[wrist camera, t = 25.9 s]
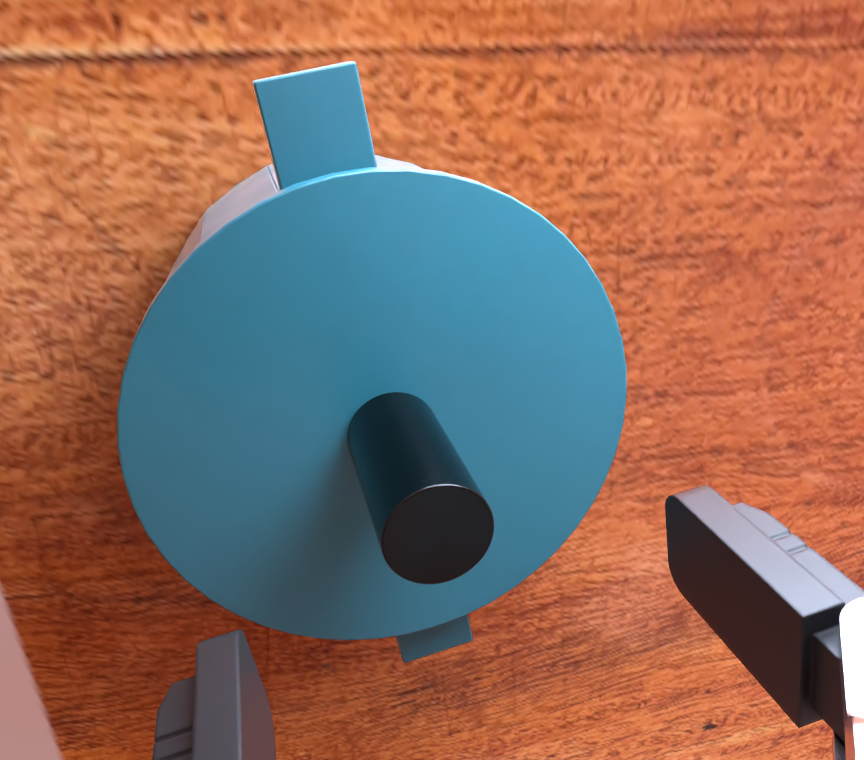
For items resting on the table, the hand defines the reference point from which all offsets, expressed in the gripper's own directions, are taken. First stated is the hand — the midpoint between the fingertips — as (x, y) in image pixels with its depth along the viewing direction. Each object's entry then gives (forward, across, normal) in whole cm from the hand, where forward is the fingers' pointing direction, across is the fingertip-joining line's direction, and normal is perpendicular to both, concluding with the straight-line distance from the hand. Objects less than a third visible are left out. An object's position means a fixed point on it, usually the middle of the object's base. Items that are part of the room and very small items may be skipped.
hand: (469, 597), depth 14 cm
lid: (+7, 0, 0) cm, 7 cm away
